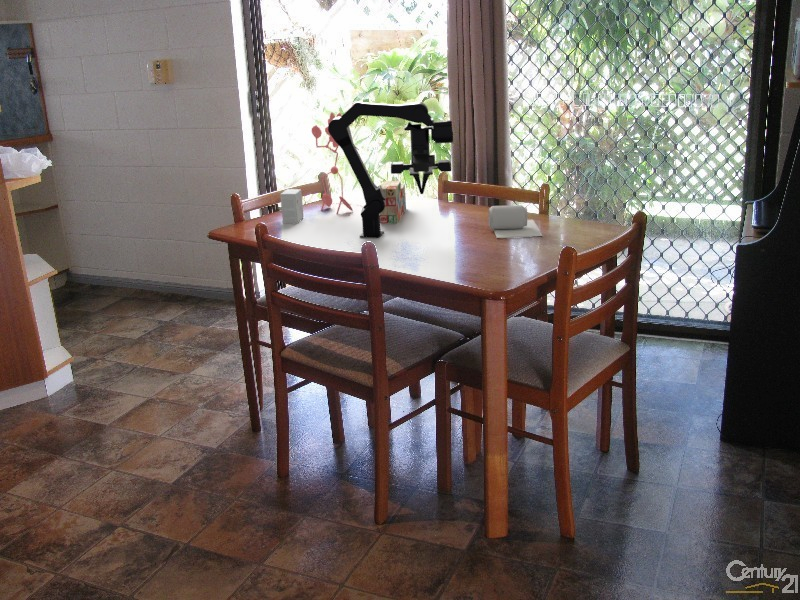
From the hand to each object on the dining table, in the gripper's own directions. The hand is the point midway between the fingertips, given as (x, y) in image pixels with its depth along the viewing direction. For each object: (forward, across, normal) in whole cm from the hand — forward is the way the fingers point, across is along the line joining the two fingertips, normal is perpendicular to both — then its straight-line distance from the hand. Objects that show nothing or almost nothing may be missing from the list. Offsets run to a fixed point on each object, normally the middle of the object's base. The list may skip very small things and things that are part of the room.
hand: (421, 193), depth 255 cm
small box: (+13, -45, +25) cm, 53 cm away
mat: (+13, +30, 0) cm, 32 cm away
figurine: (+13, -29, +40) cm, 51 cm away
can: (+9, +21, 0) cm, 23 cm away
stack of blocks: (+13, -10, +26) cm, 31 cm away
